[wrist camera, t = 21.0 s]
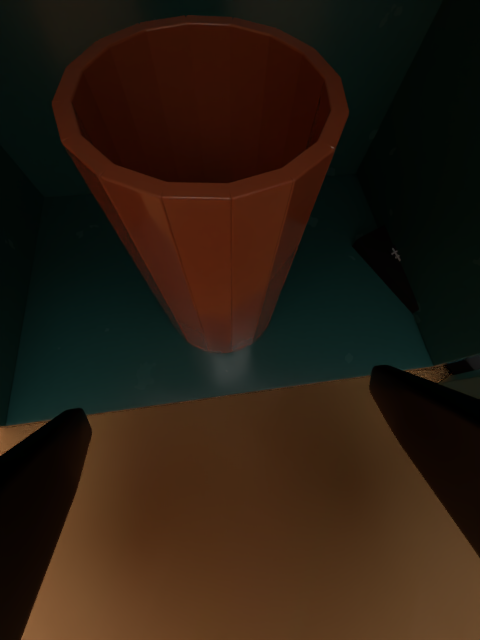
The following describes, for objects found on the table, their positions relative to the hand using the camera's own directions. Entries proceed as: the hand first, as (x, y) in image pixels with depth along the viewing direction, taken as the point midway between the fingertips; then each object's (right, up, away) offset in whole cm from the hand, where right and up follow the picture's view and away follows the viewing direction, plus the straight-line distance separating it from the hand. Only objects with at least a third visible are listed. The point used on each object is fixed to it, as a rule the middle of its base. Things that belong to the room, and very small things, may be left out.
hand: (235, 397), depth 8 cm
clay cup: (-1, +3, +10) cm, 10 cm away
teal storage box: (-2, +6, +12) cm, 13 cm away
